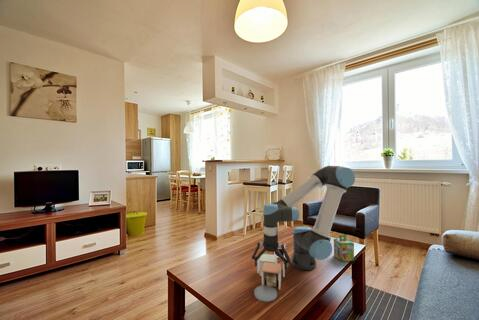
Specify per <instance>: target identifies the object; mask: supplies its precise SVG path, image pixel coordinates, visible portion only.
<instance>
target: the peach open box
mask: <svg viewBox="0 0 479 320" xmlns="http://www.w3.org/2000/svg"><path fill="white" fill-rule="evenodd" d="M267 272H268V273H277V281H278V290H279V291H280V290H281V285H282V264H281V263H278V262H277V263H268V262H264V264H263V268H262V276H261V286H262V285H265V282H266V276H267Z"/></svg>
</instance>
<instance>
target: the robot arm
mask: <svg viewBox="0 0 479 320" xmlns="http://www.w3.org/2000/svg"><path fill="white" fill-rule="evenodd" d="M355 181H356V175H355V173H354V170H353V169H351V167H349V166H346V165H345V166H344V165H326V166H323V167H322V168H320V169H318V170H317V171H315V172H313V173H312V174H311V175H310V177H309V178H308V179H307V180H305V181H304V182H303V183H301V184H299V186H297V187H295V188H294V189H293V190H291V191H290V192H289V193H287V194H286V195H285V196H283V197H282V198H280V199H279V200H278V201H272V202H271V203H266V204H264V205H263V211H262V212H263V215H262V216H263V227H262V228H263V242H262V241H260V240H258V242H257V246H256V248H255V250H254V252H253V254H252V256H251V260H254V264H255V265H254V266H255V267H256V274H259V275H260V273H259V260H260V257H261V255H262V254H265V252H268V253H269V252H270V253H275V255H277V257H278V258H279V259H280V260H281V261H282V277H283V278H285V275H286V272H285V271H287V269H288V264H291V266H292V267H294V268H295V269H297V270H301V271H312V270H315V269H316V268H317V260H318V261H323V260H326V259H328V258H329V257H330V256H331V255H332V251H333V246H332V243H331V240H332V237H331V233H330V232H331V231H332V230H331V229H332V227H333V224H334V220H335V218H336V214H337V210H338V208H339V205H340V203H341V199H342V197H343V195H344V194H345V193H347V190H348V188H350V187H352V186H353V185H354V184H355ZM324 186H325V188H326V191H325V193H324V197H323V199H322V202H321V205H320V208H319V212H318V214H317V217H316V220H315V223H314V226H313V227H311V226H303V225H302V226H296V227H294V228H293V230H292V241H293V244H292V245H293V252H292V256H291V258H290V257H289V254H288V252H287V249H286V248H285V243H284V242H281V243H279V236H278V233H279V231H278V230H279V228H278V227H279V223H283V222H284V223H285V222H296V221H298V220H299V218H300V212H299V208H297V207H296V204H298V203H299V202H300V201H302V200H303V199H305V198H306V197H307V196H309V195H310V194H311V193H313V192H314V191H315V190H317V189H318V188H322V187H324ZM262 246H263V248H262V249H261V251H260V252H259V253H258V251H259V250H260V247H262ZM279 248H280V249H281V251H282V253H283V254H282V253H281V251H280V250H279ZM257 253H258V254H257Z"/></svg>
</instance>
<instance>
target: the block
mask: <svg viewBox="0 0 479 320" xmlns="http://www.w3.org/2000/svg"><path fill="white" fill-rule="evenodd" d="M265 282H266V285H267V286H271V287H273V288H276V287H277V284H278V280H277V273H268V272H267V276H266V279H265Z"/></svg>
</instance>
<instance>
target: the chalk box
mask: <svg viewBox="0 0 479 320" xmlns="http://www.w3.org/2000/svg"><path fill="white" fill-rule="evenodd" d="M333 257H334V258H336V259H338V260H339V261H340V262H352V261H353V262H354V261H355V243H354V242H352V241H351V240H349V239H347V235H346V234H340V235H339V238H333Z"/></svg>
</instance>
